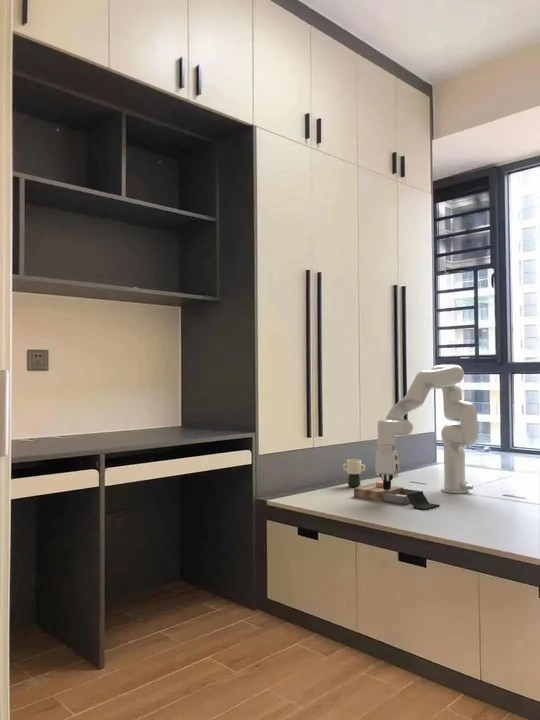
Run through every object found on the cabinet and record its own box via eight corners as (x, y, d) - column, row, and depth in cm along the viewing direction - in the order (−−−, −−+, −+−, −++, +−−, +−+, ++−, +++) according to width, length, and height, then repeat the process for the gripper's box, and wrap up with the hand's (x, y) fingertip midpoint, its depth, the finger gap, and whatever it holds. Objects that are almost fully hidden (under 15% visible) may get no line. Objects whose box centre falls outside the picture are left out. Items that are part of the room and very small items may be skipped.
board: (403, 496, 282) (403, 487, 282) (384, 501, 270) (384, 492, 270) (373, 491, 293) (373, 483, 293) (353, 496, 281) (353, 488, 281)
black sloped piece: (430, 507, 251) (417, 486, 256) (417, 516, 254) (404, 495, 259) (442, 506, 260) (429, 486, 265) (428, 515, 263) (416, 495, 268)
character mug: (366, 486, 307) (366, 459, 307) (364, 488, 300) (363, 461, 300) (344, 485, 310) (344, 459, 310) (341, 487, 304) (341, 461, 304)
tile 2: (391, 486, 284) (391, 481, 284) (385, 487, 281) (385, 483, 281) (381, 485, 288) (381, 480, 288) (375, 486, 284) (375, 482, 284)
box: (423, 499, 275) (423, 491, 275) (404, 505, 263) (404, 496, 263) (403, 496, 282) (403, 488, 282) (384, 501, 270) (384, 493, 270)
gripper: (405, 448, 272) (406, 490, 271) (376, 445, 282) (377, 486, 282) (396, 450, 266) (397, 493, 266) (367, 447, 276) (368, 488, 276)
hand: (387, 489), depth 274 cm, fingers closed
